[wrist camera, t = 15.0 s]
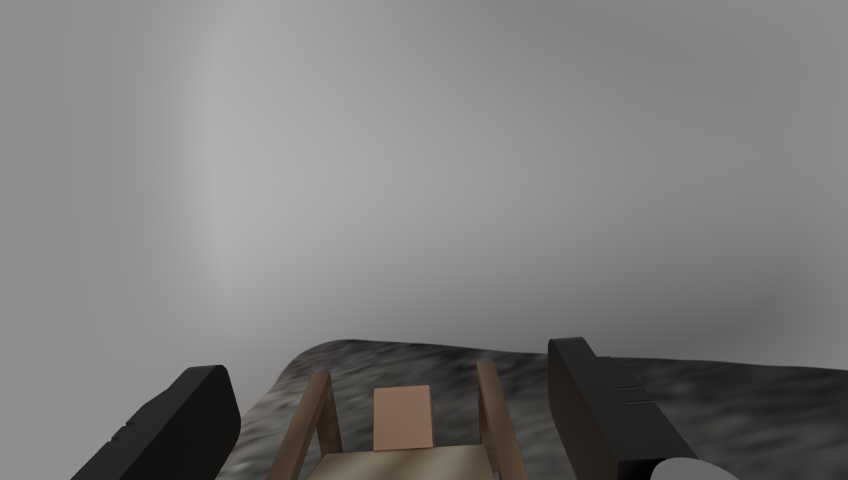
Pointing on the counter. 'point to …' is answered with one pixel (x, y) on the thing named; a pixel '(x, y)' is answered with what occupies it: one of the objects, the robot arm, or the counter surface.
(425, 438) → the block
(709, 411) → the counter surface
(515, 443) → the wooden legged stool
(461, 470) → the trapdoor
